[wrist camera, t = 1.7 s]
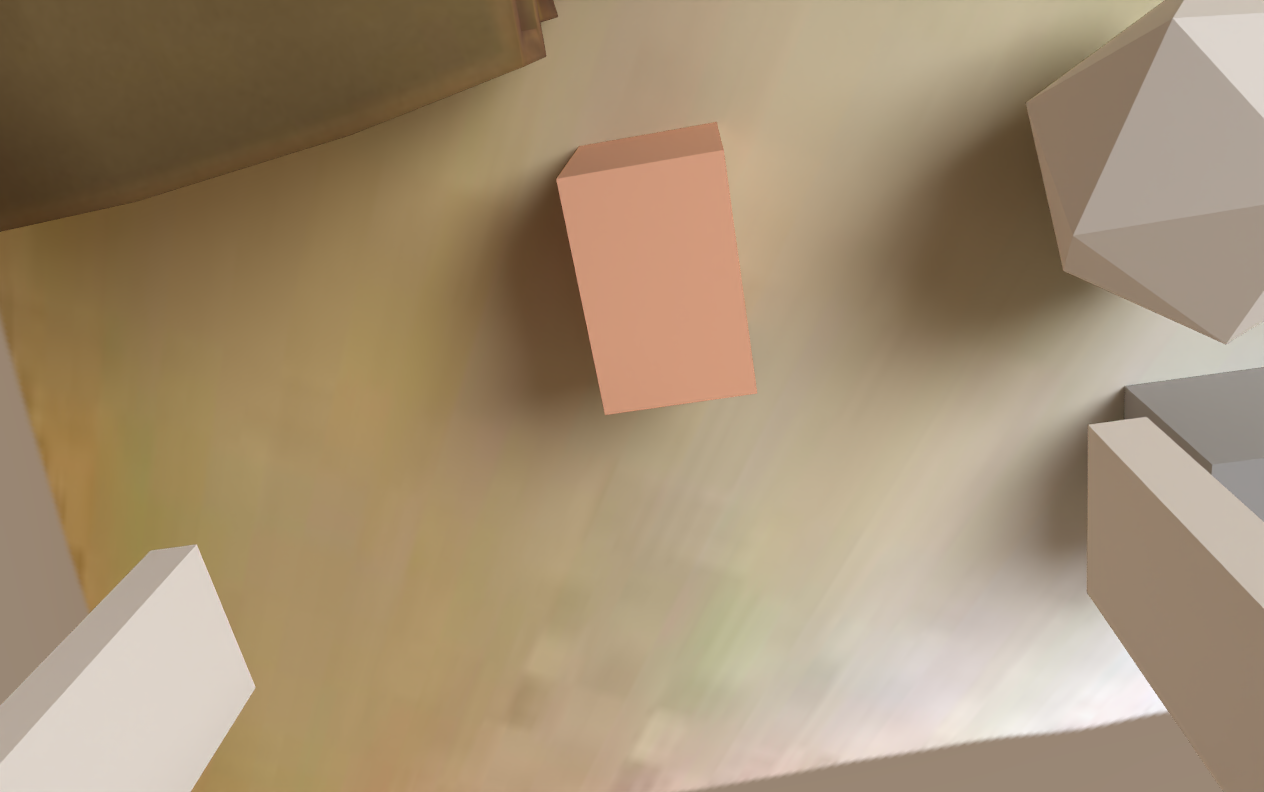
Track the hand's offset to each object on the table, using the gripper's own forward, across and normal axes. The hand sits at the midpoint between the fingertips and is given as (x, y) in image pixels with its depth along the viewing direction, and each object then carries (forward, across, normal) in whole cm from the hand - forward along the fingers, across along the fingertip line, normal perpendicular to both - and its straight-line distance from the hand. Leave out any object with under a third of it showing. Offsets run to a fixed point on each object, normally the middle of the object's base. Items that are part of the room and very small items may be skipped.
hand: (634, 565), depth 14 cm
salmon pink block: (+19, 0, 0) cm, 19 cm away
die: (+20, +15, +1) cm, 25 cm away
